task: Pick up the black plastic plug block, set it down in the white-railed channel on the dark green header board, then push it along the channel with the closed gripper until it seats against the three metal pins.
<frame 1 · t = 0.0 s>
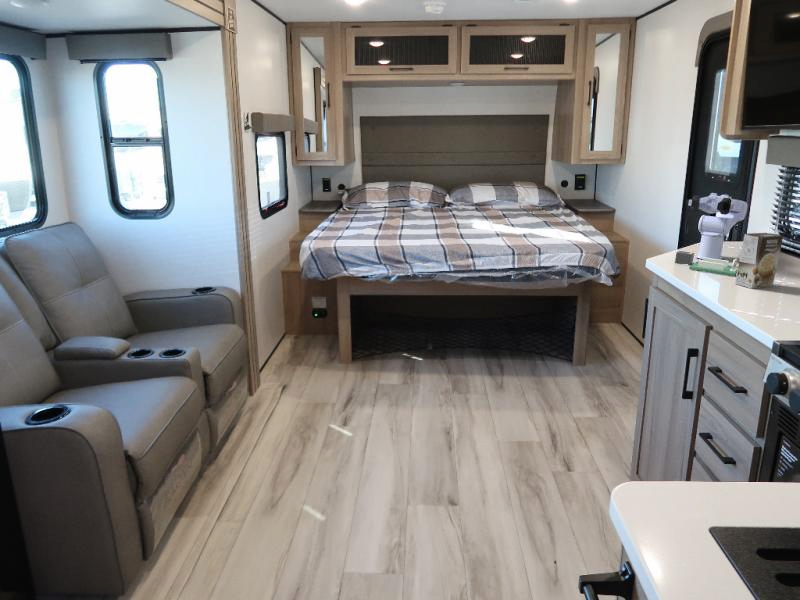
hand: (706, 204, 206), 22 cm above the countertop, tool horizontal, fingers open, 7 cm apart
coffee box: (753, 286, 191), on the countertop
plug: (683, 263, 219), on the countertop
header board: (715, 269, 210), on the countertop
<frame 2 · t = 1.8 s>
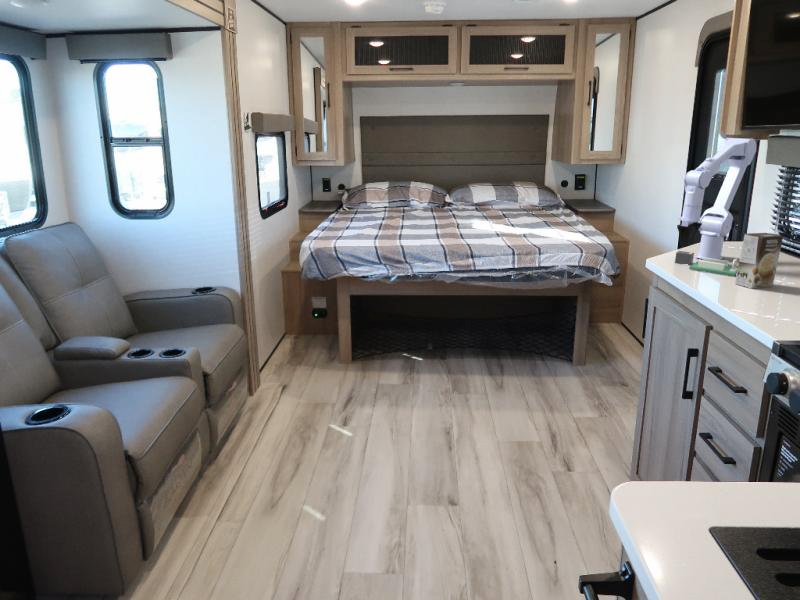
hand: (686, 244, 217), 7 cm above the countertop, tool pointing down, fingers open, 7 cm apart
nothing on the countertop moved.
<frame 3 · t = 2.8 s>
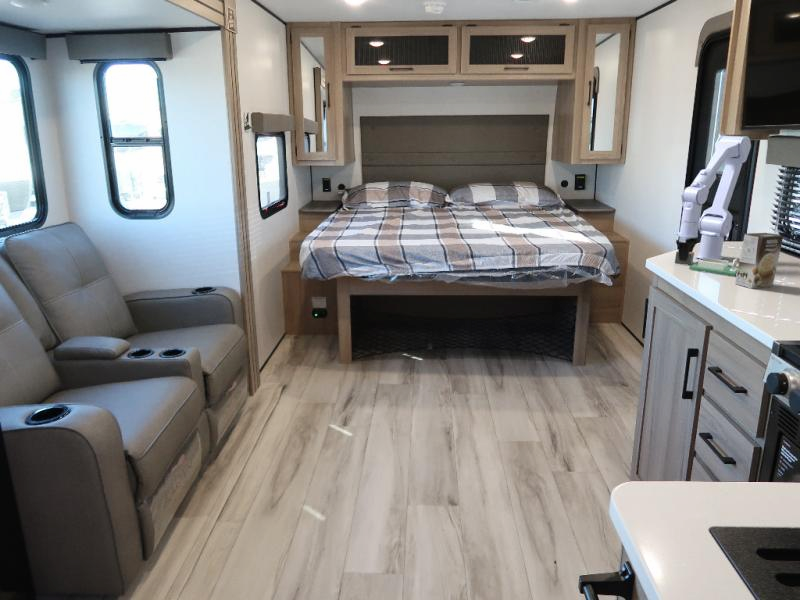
hand: (684, 259, 218), 1 cm above the countertop, tool pointing down, fingers closed on plug, 4 cm apart
plug: (683, 263, 219), on the countertop, touching gripper
everything else where it was.
when the fingers open (4 cm above the countertop, at t = 5.5 s): plug drops 1 cm, resting on header board.
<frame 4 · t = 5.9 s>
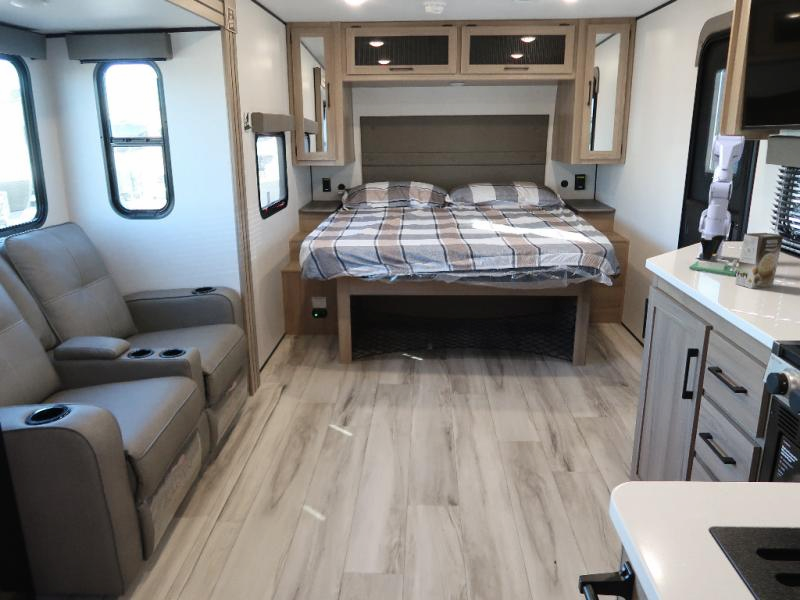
hand: (709, 257, 210), 4 cm above the countertop, tool pointing down, fingers open, 7 cm apart
plug: (707, 265, 211), point 1 cm above the countertop, touching header board
everything else where it was.
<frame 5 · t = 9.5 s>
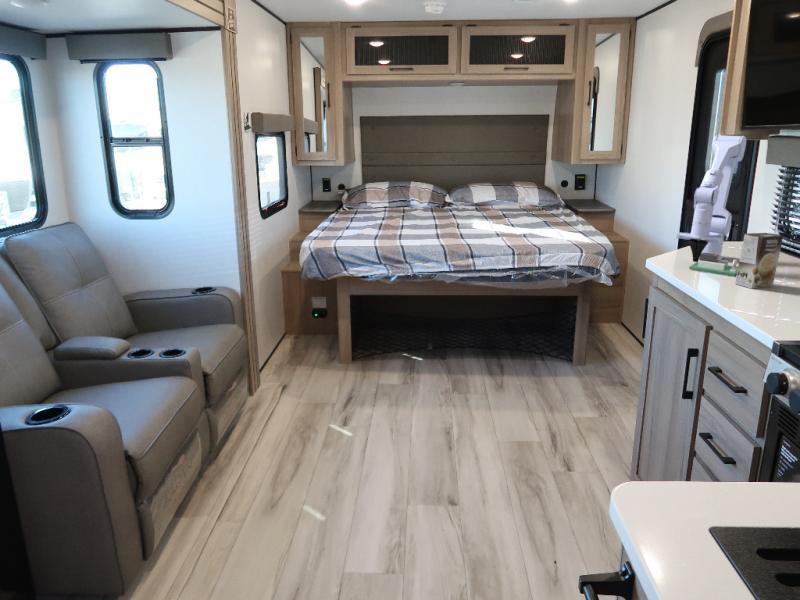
hand: (695, 261, 213), 2 cm above the countertop, tool pointing down, fingers closed
plug: (707, 265, 211), point 1 cm above the countertop, touching gripper, header board
everything else where it was.
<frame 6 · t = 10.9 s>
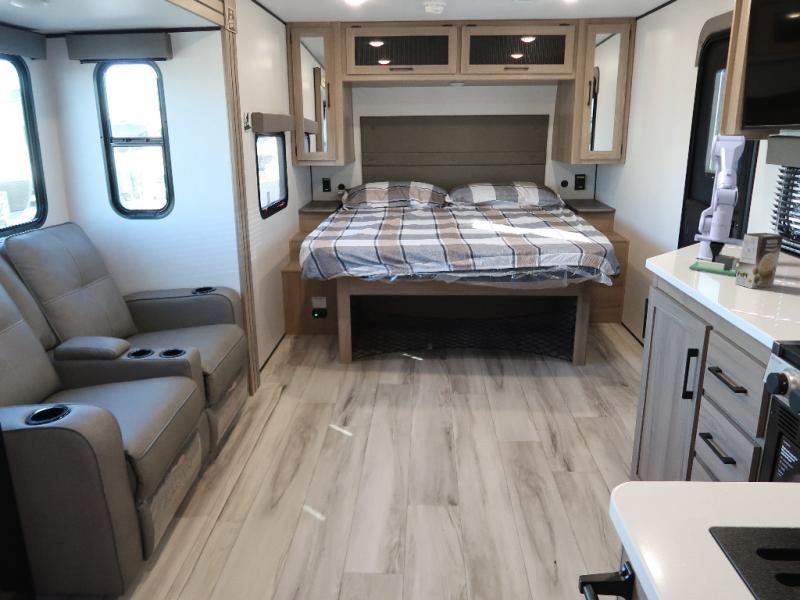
hand: (714, 263, 210), 2 cm above the countertop, tool pointing down, fingers closed, pressing on plug
plug: (722, 267, 208), point 1 cm above the countertop, touching gripper, header board
everything else where it was.
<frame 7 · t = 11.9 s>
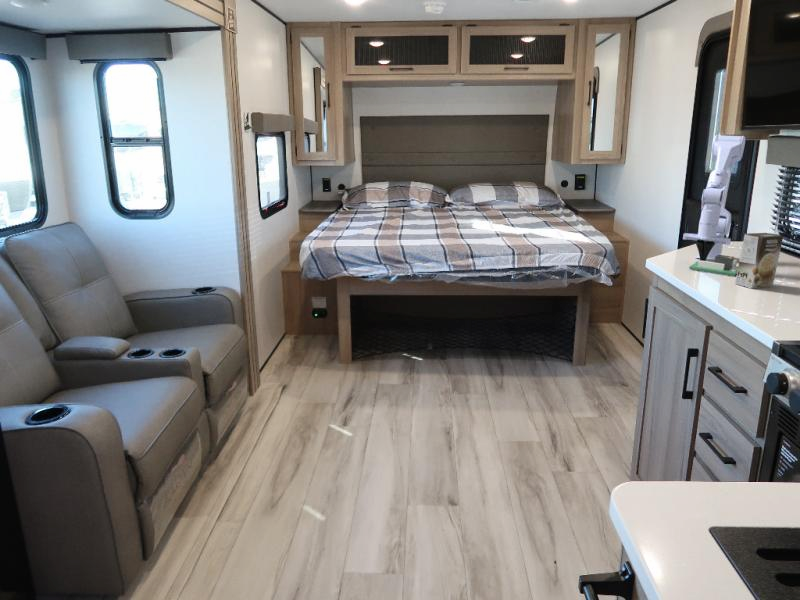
hand: (702, 262, 212), 2 cm above the countertop, tool pointing down, fingers closed
plug: (722, 268, 208), point 1 cm above the countertop, touching header board
everything else where it was.
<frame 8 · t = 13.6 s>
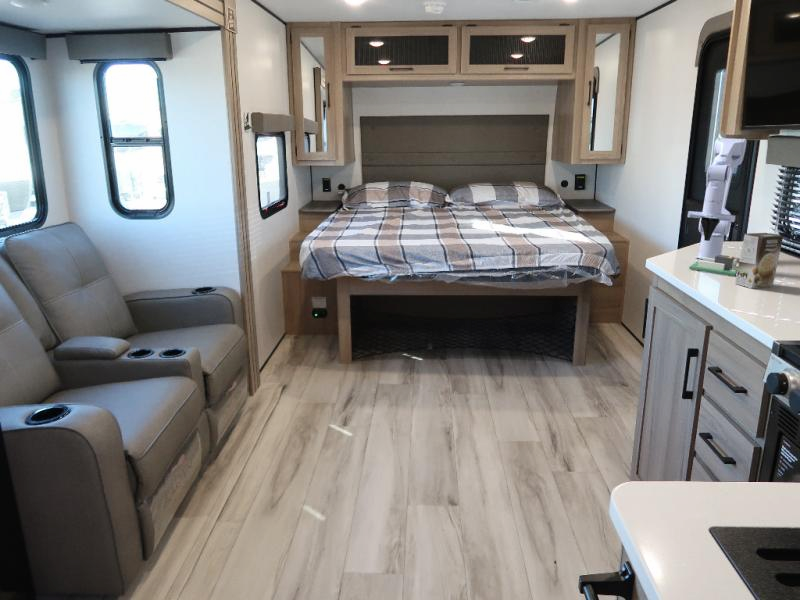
hand: (707, 240, 211), 9 cm above the countertop, tool pointing down, fingers closed
nothing on the countertop moved.
at the end: plug 0.4 cm from the target spot on the header board, point 1.0 cm above the header board's base; plug tilted 0°; the gripper is holding nothing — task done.
